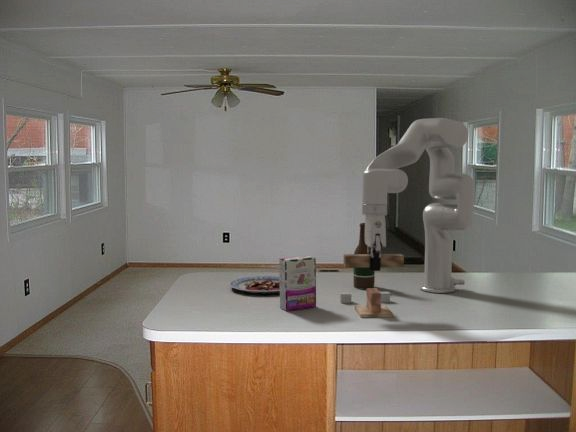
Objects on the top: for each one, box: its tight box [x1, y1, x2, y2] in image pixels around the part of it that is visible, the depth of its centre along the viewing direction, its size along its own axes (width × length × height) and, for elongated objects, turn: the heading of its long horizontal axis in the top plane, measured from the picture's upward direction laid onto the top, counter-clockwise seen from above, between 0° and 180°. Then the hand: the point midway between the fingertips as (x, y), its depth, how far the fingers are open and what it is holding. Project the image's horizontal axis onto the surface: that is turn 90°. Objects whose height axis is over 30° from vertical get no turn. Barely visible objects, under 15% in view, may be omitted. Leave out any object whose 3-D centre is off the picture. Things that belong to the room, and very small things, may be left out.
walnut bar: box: [343, 253, 405, 269], centre depth 178 cm, size 18×4×4 cm, turn 94°
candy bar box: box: [278, 255, 317, 312], centre depth 186 cm, size 11×5×16 cm, turn 117°
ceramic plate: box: [229, 275, 280, 295], centre depth 215 cm, size 26×26×3 cm
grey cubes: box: [339, 291, 391, 304], centre depth 194 cm, size 16×2×3 cm, turn 94°
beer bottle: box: [353, 222, 376, 290], centre depth 215 cm, size 8×8×24 cm
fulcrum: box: [354, 287, 394, 318], centre depth 180 cm, size 10×10×7 cm
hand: (373, 268), depth 179 cm, fingers closed on walnut bar, 3 cm apart
